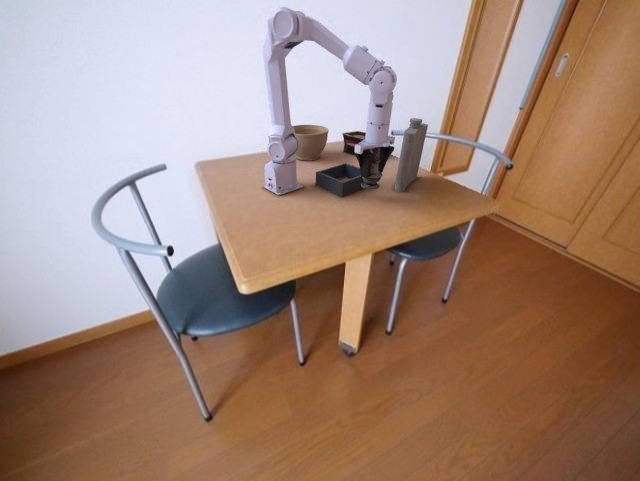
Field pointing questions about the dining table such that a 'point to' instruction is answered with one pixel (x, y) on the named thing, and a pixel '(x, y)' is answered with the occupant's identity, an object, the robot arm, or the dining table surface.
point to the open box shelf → (332, 184)
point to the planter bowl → (310, 141)
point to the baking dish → (352, 140)
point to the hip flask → (410, 153)
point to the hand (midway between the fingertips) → (371, 174)
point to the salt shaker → (373, 172)
